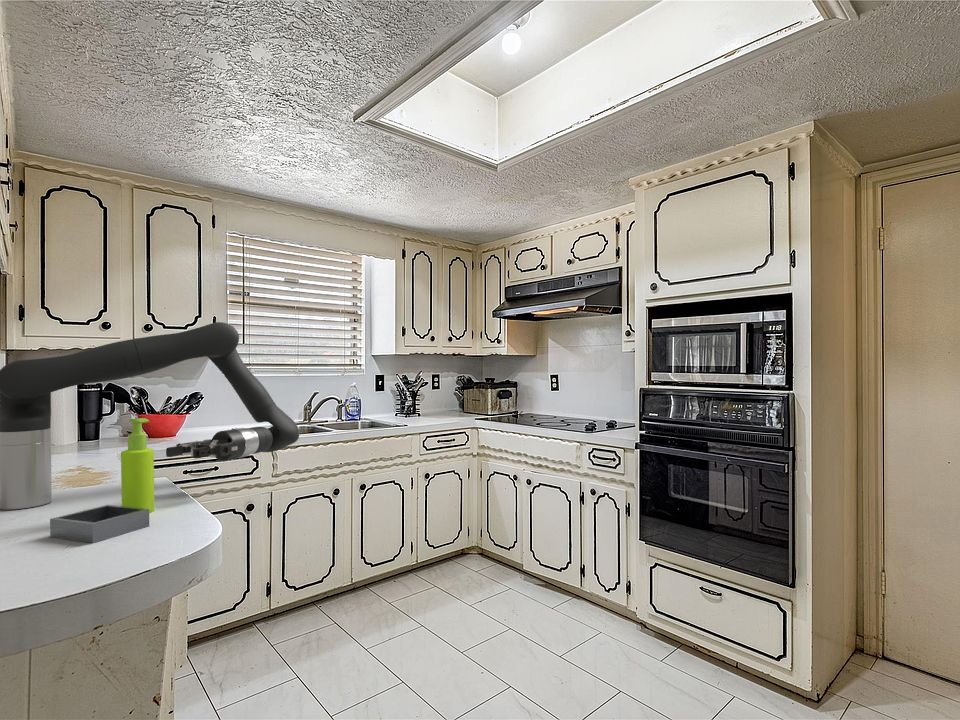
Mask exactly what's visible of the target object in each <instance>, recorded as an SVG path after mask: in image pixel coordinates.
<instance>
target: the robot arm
mask: <svg viewBox="0 0 960 720" xmlns="http://www.w3.org/2000/svg"><path fill="white" fill-rule="evenodd" d="M239 342H240V335H239V332H238V330H237V329H236V327H234V326H233V325H231V324H229V323H227V322H220V321H217V322H213V323H210V324H207V325H206V324H205V325H202V326H199V327H196V328H193V329H188V330H184V331H181V332H174V333H166V334H157V335H151V336H144V337H138V338H137V337H136V338H132V339H125V340H120V341H115V342H110V343H107V344H103V345H99V346H95V347H91V348H88V349H86V350H81V351H77V352H74V353H69V354H65V355H60V356H54V357H53V356H51V357H44V358H35V359H33V358H31V359H19V360H14V361H10V362H8V363H6V364H5V365H4V366H2V367H1V369H0V510H8V511H9V510H19V509H21V510H22V509H27V508H28V509H29V508H35V507H38V506H44V505H47V504H49V503H51V502H52V501H53V495H52V494H53V493H52V491H53V490H52V441H51V439H52V437H51V433H52V432H51V430H52V429H51V428H52V426H51V425H52V424H51V421H52V392H57V391H60V390H63V389H67V388H70V387H75V386H79V385H86V384H94V383H102V382H103V383H104V382H111V381H117V380H118V381H119V380H121V379H122V380H123V379H128V378H133V377H137V376H142V375H146V374H149V373H153V372H156V371H159V370H162V369H165V368H168V367H170V366H172V365H175V364H178V363H180V362H185V361H187V360H192V359H197V358H199V359H200V358H203V357H207V358H208V359H209V360H210V361H211V362H212V364H214V366H216V368H217V369H218V370H219V371H220V372H221V373H222V375H223V376H224V377H225V379H226V380H227V381H228V383H230V385H231V387H232V388H233V390H234V391H235V393H236V394H237V396H238V397H239V399H240V400H241V402H242V403H243V405H244V407H245V408H246V409H247V411H248V413H249V414H250V415H251V418H252V419H253V420H254V421H255V422H256V423H258V424H260V423H269V424H270V425H271V426H269V427H265V426H254V427H247V428H246V427H245V428H244V427H242V428H233V429H226V430H220V431H217V432H216V433H215V434H214V435H213V436H212V437H211V439H210V438H209V439H204V440H199V441H198V440H195V441H190V442H183V443H180V442H179V443H177V444H176V445H175V446H169V447H167V448H166V449H165V456H166V458H172V457H178V456H189V455H190V457H192V458H193V459H196V460H197V459H203V458H207V457H209V458H215V459H217V460H218V461H220V462H221V461H223V462H227V461H231V460H237V459H240V458H244V457H248V456H250V455H255V454H259V453H273V452H278V451H280V450H282V449H284V448H286V447H289V446H290V445H293V444H295V443H297V441H298V440H299V438H300V429H299V427H298V424H297V423H296V422H295V420H293V419H292V418H291V417H290V415H288V414H287V413H285V412H284V410H282V409H281V408H280V407H278V405H277V404H276V402H275V401H274V400H273V398H272V396H271V395H270V393H269V391H268V390H267V389H266V387H265V386H264V385H263V384H262V383H261V382H260V380H259V379H258V378H257V377H256V376H255V375H254V374H253V372H251V370H250V369H249V368H248V367H247V365H246V364H245V363H244V361H243V360H242V358H241V356H240V354H239V352H238V350H237V347H238V346H239V345H238V344H239Z"/></svg>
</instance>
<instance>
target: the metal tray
mask: <svg viewBox="0 0 960 720" xmlns="http://www.w3.org/2000/svg"><path fill="white" fill-rule="evenodd" d="M148 527H150V513H149V509H145V508H135V507H126V506H122V505H114V504H106V505H102V506H98V507H94V508H90V509H86V510H85V509H84V510H82V511H78V512H77V511H76V512H73V513H68V514H66V515H60V516H57V517H52V518H50V519H49V538H54V539H60V540H69V541H76V542H83V543H89V544H95V543H98V542H101V541H104V540H108V539H111V538H114V537H119V536H120V535H124V534H128V533H130V532H134V531H138V530H141V529H144V528H148Z"/></svg>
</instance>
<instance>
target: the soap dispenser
mask: <svg viewBox="0 0 960 720" xmlns="http://www.w3.org/2000/svg"><path fill="white" fill-rule="evenodd" d="M129 423H132V426H131V427H132V428H131V430H132V432H130V434H129V433H128V434H127V449H126V450H122V451H121V452H120V469H121V471H120V472H121V473H120V475H121V479H120V481H121V506H126V507H135V508H145V509H149V514H150V513H153V512H155V465H154V464H155V463H154V462H155V460H154V459H155V458H154V456H155V455H154V454H155V453H154V451H155V450H154V449H153V448H149V447H148V445H147V442H148V439H147V433H146V432H145V431H143V430H142V429H143V424H148V423H150V420H149V419H147V418H145V417H141V418H140V417H139V418H130V419H129Z"/></svg>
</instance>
